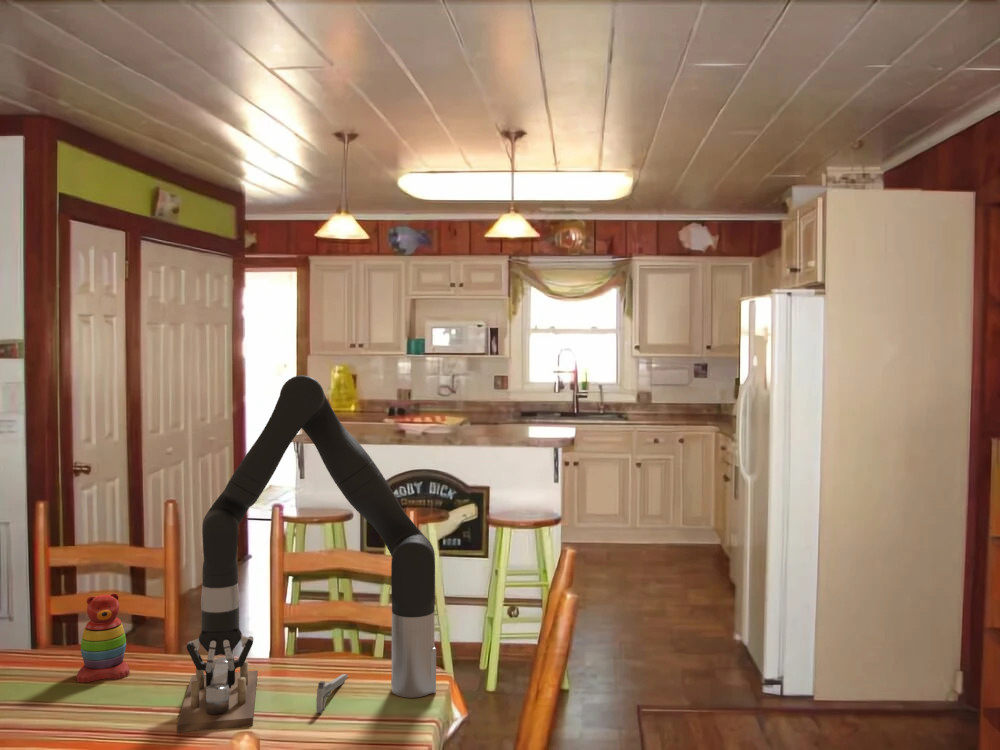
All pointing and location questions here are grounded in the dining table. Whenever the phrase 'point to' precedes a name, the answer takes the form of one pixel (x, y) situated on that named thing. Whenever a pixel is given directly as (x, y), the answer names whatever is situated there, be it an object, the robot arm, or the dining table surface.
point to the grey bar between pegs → (218, 688)
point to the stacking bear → (103, 641)
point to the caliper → (327, 691)
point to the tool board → (239, 703)
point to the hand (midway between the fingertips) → (220, 687)
